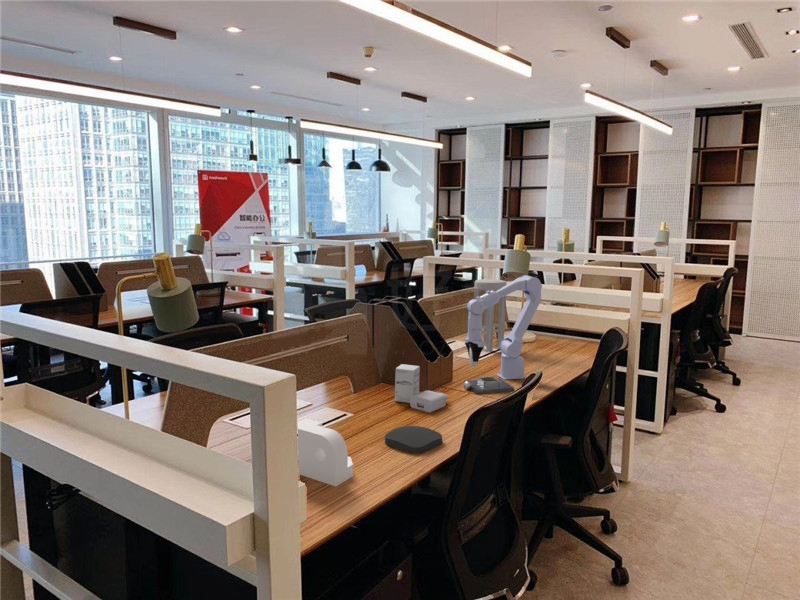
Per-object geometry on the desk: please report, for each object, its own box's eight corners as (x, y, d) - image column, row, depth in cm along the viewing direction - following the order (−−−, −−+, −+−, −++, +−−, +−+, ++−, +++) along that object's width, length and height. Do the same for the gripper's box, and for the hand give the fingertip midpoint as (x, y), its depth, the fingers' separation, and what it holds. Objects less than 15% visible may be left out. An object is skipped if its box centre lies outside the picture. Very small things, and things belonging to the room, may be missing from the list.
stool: (485, 343, 319) (488, 278, 314) (509, 348, 308) (512, 281, 303) (466, 347, 309) (468, 280, 304) (490, 353, 298) (492, 283, 293)
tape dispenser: (289, 471, 160) (288, 426, 158) (315, 458, 168) (315, 415, 167) (335, 486, 151) (335, 439, 149) (360, 472, 160) (361, 427, 158)
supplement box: (394, 401, 219) (394, 368, 217) (401, 395, 226) (401, 363, 224) (413, 404, 217) (413, 370, 215) (419, 398, 224) (420, 365, 222)
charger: (455, 403, 219) (430, 413, 208) (435, 398, 225) (410, 407, 213) (455, 390, 218) (431, 400, 207) (435, 386, 224) (410, 395, 213)
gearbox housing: (500, 382, 247) (500, 373, 246) (513, 391, 234) (514, 382, 234) (459, 384, 242) (459, 376, 242) (471, 394, 230) (471, 385, 229)
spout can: (475, 363, 253) (476, 342, 251) (479, 365, 249) (479, 344, 248) (466, 364, 252) (467, 343, 250) (469, 366, 248) (470, 345, 247)
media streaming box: (417, 457, 171) (417, 447, 170) (379, 443, 180) (379, 434, 180) (447, 442, 182) (447, 433, 181) (410, 430, 191) (410, 421, 191)
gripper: (459, 325, 254) (458, 356, 256) (472, 332, 240) (471, 365, 242) (475, 324, 256) (474, 355, 258) (488, 331, 242) (487, 364, 244)
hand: (473, 360), depth 250 cm, fingers closed on spout can, 4 cm apart
